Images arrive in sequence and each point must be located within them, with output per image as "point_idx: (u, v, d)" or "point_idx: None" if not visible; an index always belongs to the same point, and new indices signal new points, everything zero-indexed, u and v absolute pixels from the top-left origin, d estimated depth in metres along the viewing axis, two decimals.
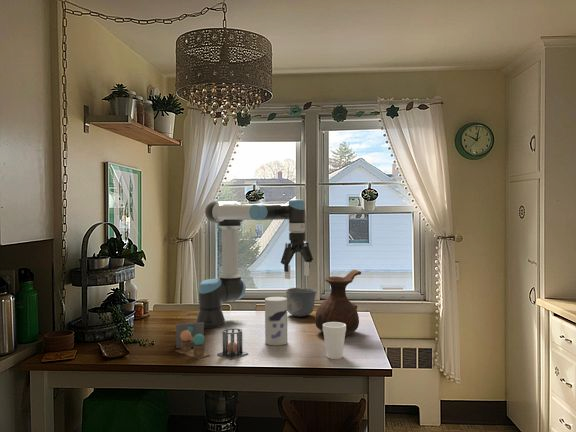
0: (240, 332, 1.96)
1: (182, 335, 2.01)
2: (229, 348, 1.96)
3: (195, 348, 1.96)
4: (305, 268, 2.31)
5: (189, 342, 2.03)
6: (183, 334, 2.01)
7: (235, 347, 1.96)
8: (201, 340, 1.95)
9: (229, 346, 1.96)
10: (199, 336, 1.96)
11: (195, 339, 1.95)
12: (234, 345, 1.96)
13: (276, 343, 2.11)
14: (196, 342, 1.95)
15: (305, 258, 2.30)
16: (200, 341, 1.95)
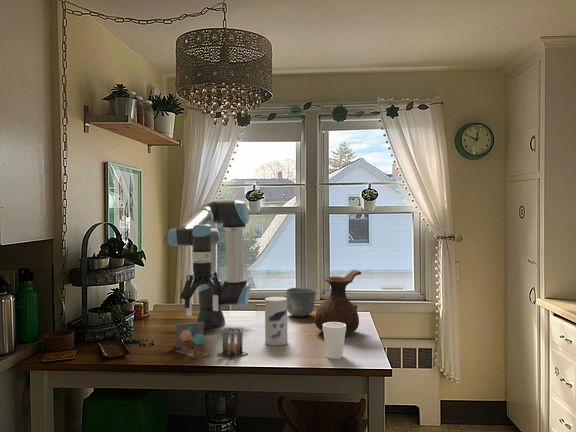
0: (240, 332, 1.96)
1: (182, 335, 2.01)
2: (229, 348, 1.96)
3: (195, 348, 1.96)
4: (214, 302, 2.03)
5: (189, 342, 2.03)
6: (183, 334, 2.01)
7: (235, 347, 1.96)
8: (201, 340, 1.95)
9: (229, 346, 1.96)
10: (199, 336, 1.96)
11: (195, 339, 1.95)
12: (234, 345, 1.96)
13: (276, 343, 2.11)
14: (196, 342, 1.95)
15: (213, 291, 2.02)
16: (200, 341, 1.95)
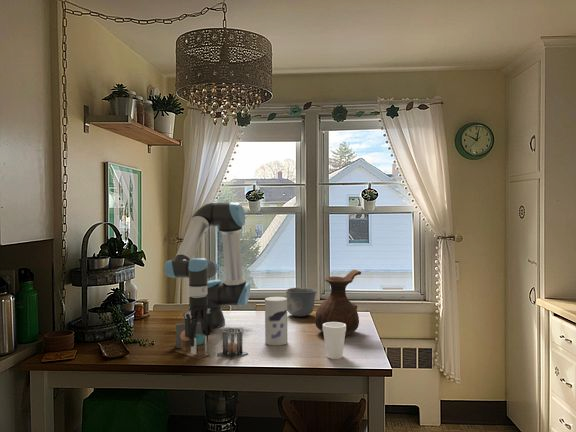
0: (240, 332, 1.96)
1: (182, 335, 2.01)
2: (229, 348, 1.96)
3: None
4: None
5: (189, 342, 2.03)
6: (183, 334, 2.01)
7: (235, 347, 1.96)
8: (201, 340, 1.95)
9: (229, 346, 1.96)
10: (199, 336, 1.96)
11: None
12: (234, 345, 1.96)
13: (276, 343, 2.11)
14: (196, 342, 1.95)
15: (203, 329, 1.99)
16: (200, 341, 1.95)
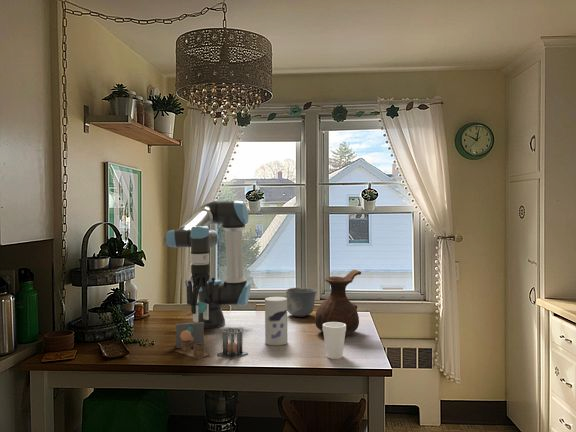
0: (240, 332, 1.96)
1: (182, 335, 2.01)
2: (229, 348, 1.96)
3: (195, 348, 1.96)
4: None
5: (189, 342, 2.03)
6: (183, 334, 2.01)
7: (235, 347, 1.96)
8: (203, 308, 1.95)
9: (229, 346, 1.96)
10: (201, 304, 1.95)
11: None
12: (234, 345, 1.96)
13: (276, 343, 2.11)
14: (198, 310, 1.95)
15: (205, 297, 1.99)
16: (202, 309, 1.95)
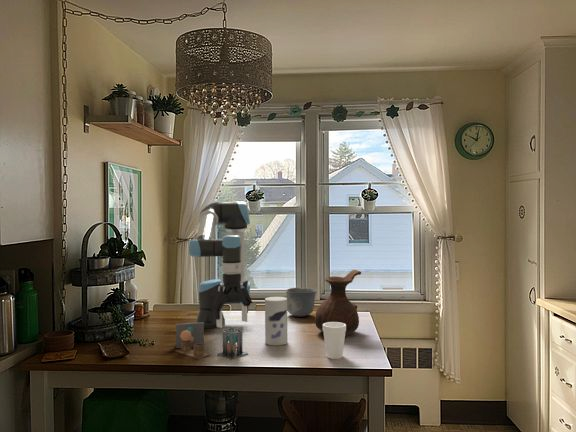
0: (240, 332, 1.96)
1: (182, 335, 2.01)
2: (228, 347, 1.97)
3: (195, 348, 1.96)
4: (243, 313, 2.03)
5: (189, 342, 2.03)
6: (183, 334, 2.01)
7: (233, 345, 1.97)
8: (234, 343, 1.96)
9: (227, 345, 1.97)
10: (235, 340, 1.95)
11: (230, 340, 1.95)
12: None
13: (276, 343, 2.11)
14: None
15: (242, 301, 2.02)
16: (233, 343, 1.96)
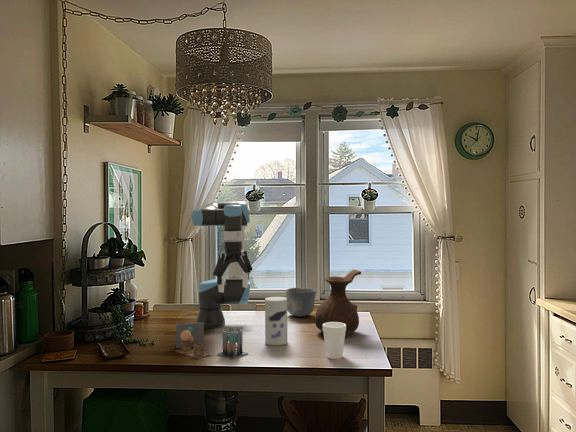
0: (240, 332, 1.96)
1: (182, 335, 2.01)
2: (228, 347, 1.97)
3: (195, 348, 1.96)
4: (243, 279, 2.12)
5: (189, 342, 2.03)
6: (183, 334, 2.01)
7: (233, 345, 1.97)
8: (234, 343, 1.96)
9: (227, 345, 1.97)
10: (235, 340, 1.95)
11: (230, 340, 1.95)
12: None
13: (276, 343, 2.11)
14: None
15: (243, 268, 2.11)
16: (233, 343, 1.96)
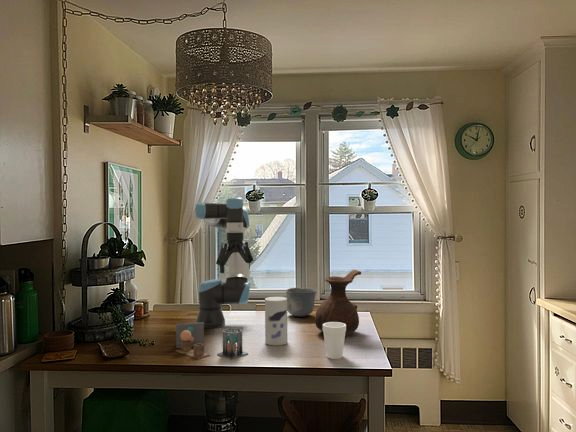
0: (240, 332, 1.96)
1: (182, 335, 2.01)
2: (228, 347, 1.97)
3: (195, 348, 1.96)
4: (245, 269, 2.22)
5: (189, 342, 2.03)
6: (183, 334, 2.01)
7: (233, 345, 1.97)
8: (234, 343, 1.96)
9: (227, 345, 1.97)
10: (235, 340, 1.95)
11: (230, 340, 1.95)
12: None
13: (276, 343, 2.11)
14: None
15: (244, 259, 2.22)
16: (233, 343, 1.96)
